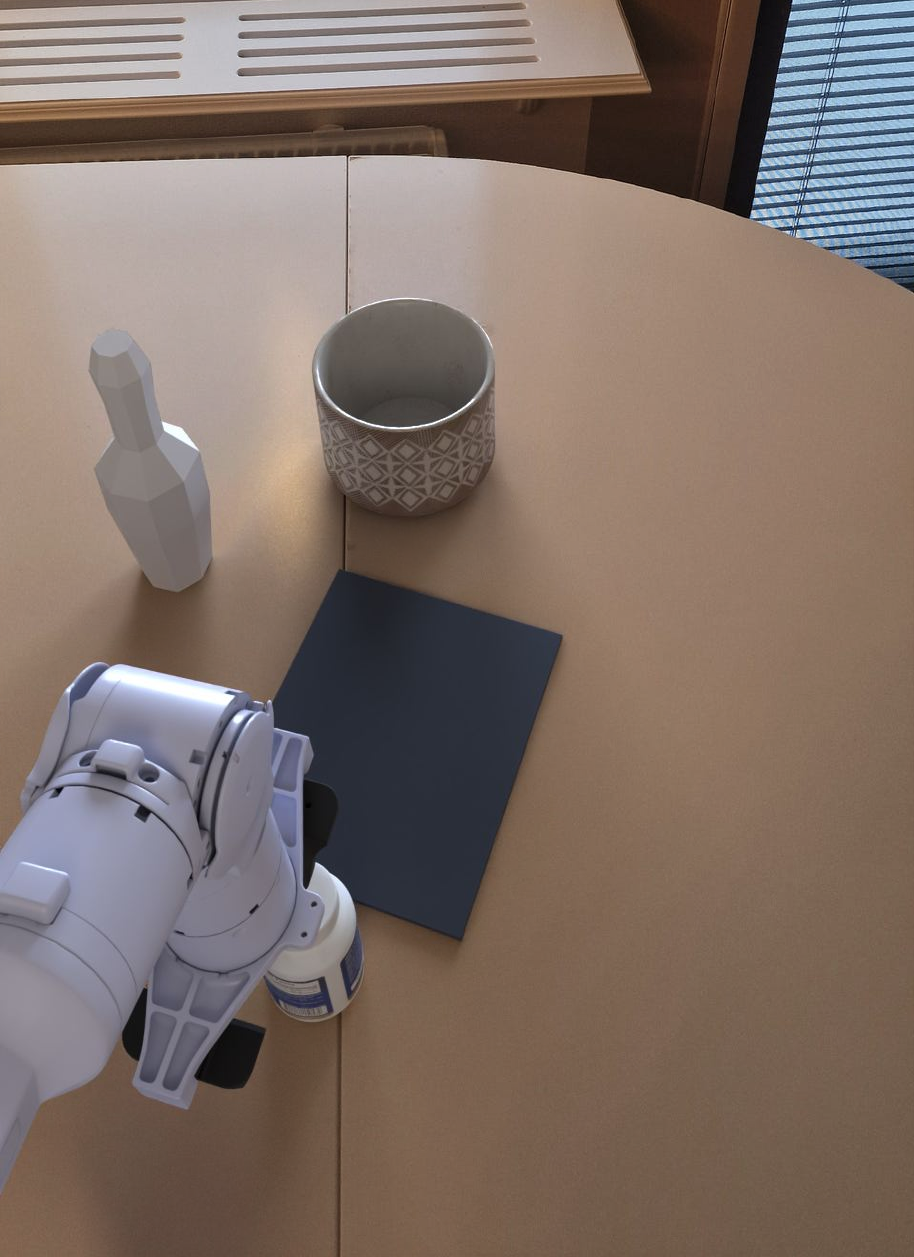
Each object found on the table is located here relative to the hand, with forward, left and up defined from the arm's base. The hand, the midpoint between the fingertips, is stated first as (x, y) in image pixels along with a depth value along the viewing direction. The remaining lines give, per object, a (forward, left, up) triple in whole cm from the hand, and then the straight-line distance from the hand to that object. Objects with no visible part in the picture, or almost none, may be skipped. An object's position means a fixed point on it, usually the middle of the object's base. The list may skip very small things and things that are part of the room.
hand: (260, 960), depth 60 cm
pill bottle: (+4, 0, -11) cm, 12 cm away
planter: (+39, +8, -11) cm, 41 cm away
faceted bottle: (+25, +20, -11) cm, 34 cm away
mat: (+18, +1, -11) cm, 21 cm away
